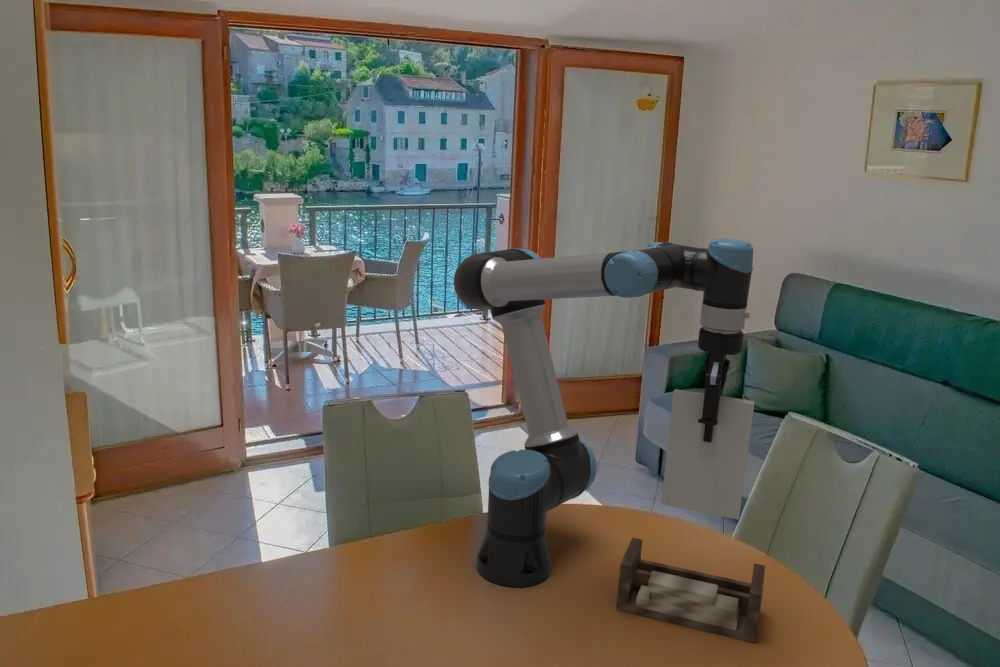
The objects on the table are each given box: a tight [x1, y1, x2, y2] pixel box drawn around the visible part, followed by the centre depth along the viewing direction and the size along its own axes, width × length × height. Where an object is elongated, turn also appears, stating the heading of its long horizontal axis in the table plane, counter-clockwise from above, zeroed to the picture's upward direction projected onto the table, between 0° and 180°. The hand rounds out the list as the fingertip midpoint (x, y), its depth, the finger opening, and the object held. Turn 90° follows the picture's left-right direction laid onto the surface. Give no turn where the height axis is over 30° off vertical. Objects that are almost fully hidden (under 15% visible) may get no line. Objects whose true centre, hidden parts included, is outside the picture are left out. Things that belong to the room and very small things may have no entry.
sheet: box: [660, 388, 755, 521], centre depth 149 cm, size 14×2×22 cm, turn 70°
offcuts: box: [636, 571, 739, 630], centre depth 150 cm, size 18×5×5 cm, turn 70°
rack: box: [615, 537, 766, 644], centre depth 153 cm, size 25×11×10 cm, turn 70°
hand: (706, 454), depth 149 cm, fingers closed on sheet, 2 cm apart
